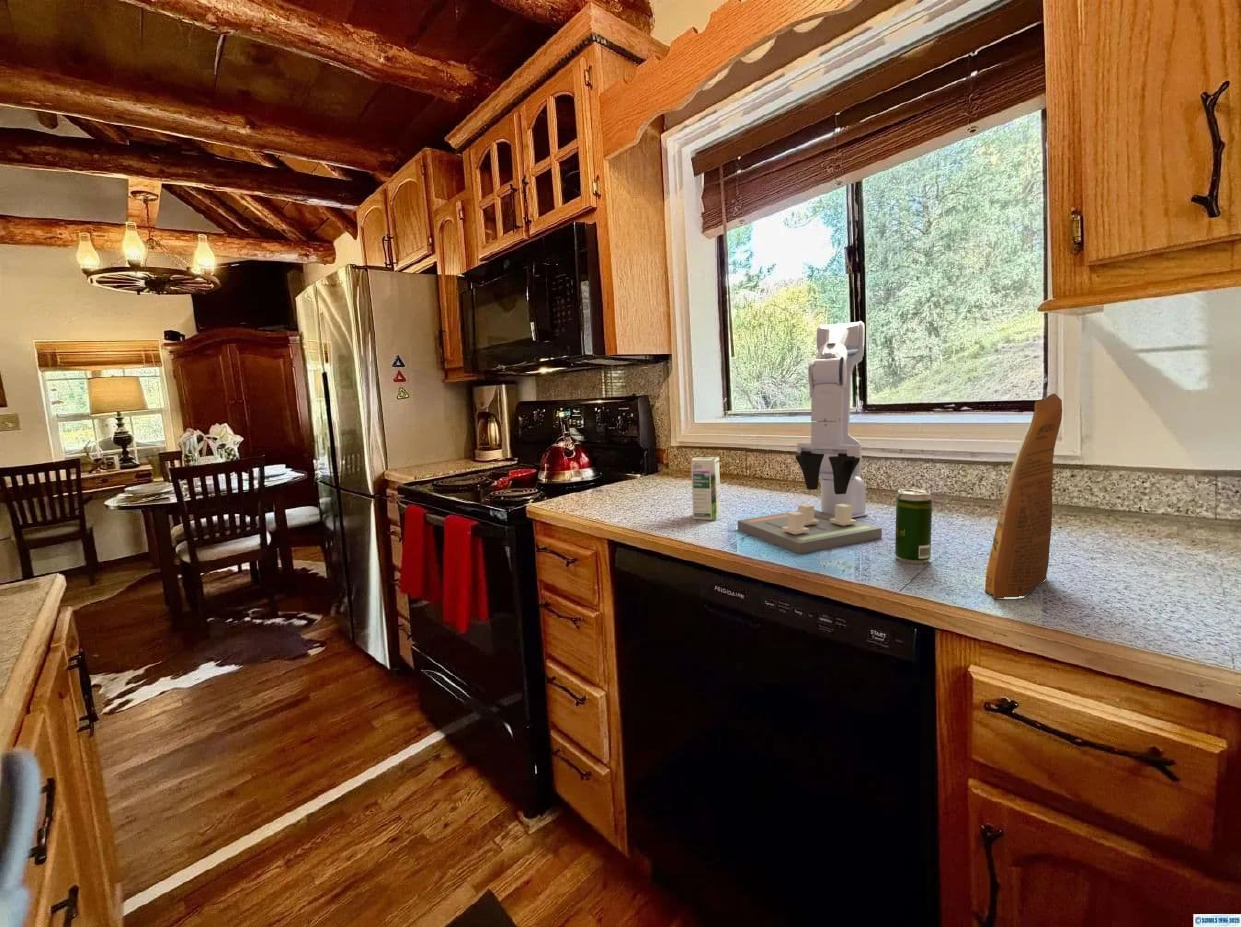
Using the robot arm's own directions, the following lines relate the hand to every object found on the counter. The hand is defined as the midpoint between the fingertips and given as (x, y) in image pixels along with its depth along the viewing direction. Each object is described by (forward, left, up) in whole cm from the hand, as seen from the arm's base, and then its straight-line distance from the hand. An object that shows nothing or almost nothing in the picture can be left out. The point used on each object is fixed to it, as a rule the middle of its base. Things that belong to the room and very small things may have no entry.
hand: (825, 491), depth 104 cm
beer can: (-4, +16, -10) cm, 19 cm away
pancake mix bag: (-7, +32, -10) cm, 34 cm away
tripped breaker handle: (0, -6, -8) cm, 10 cm away
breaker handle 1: (+6, -2, -8) cm, 10 cm away
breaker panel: (0, -6, -10) cm, 12 cm away
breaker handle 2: (-6, -2, -8) cm, 10 cm away
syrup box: (+9, -29, -10) cm, 32 cm away
